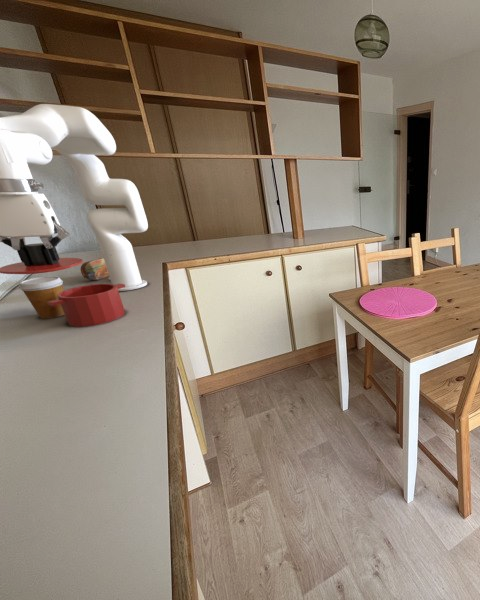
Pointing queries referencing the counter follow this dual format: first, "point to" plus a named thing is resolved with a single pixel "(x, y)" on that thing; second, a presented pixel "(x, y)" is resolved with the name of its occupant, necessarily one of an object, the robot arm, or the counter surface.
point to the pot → (91, 304)
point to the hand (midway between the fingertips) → (42, 263)
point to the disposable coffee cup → (43, 295)
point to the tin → (94, 269)
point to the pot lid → (39, 262)
